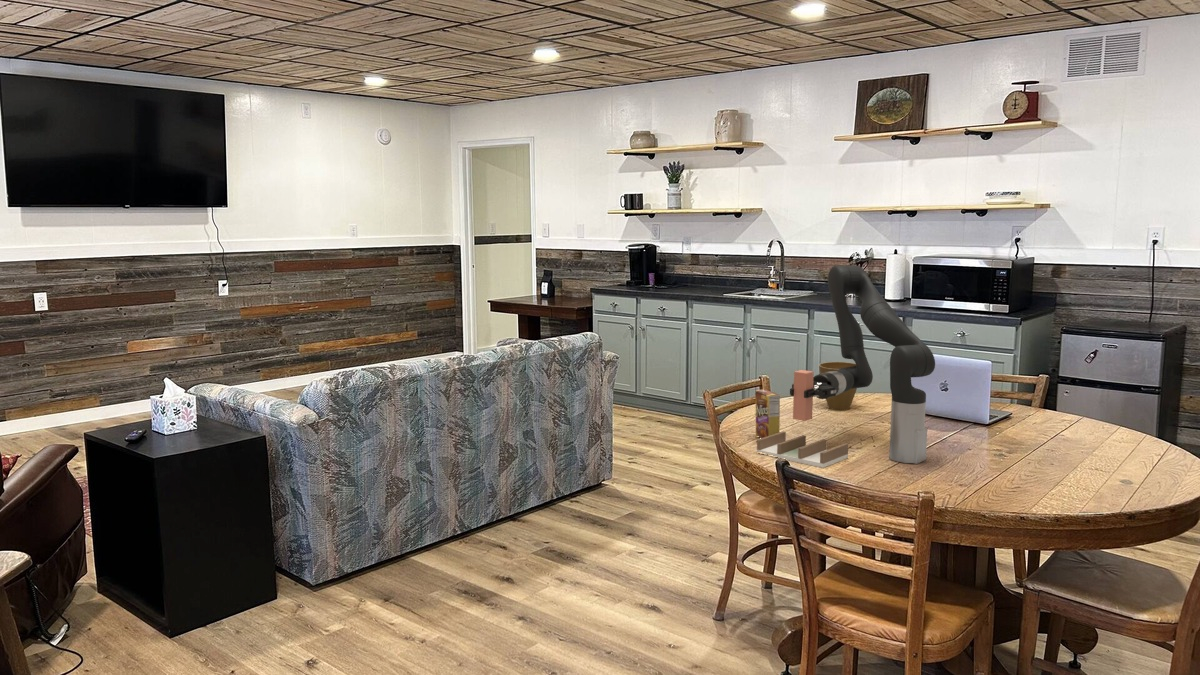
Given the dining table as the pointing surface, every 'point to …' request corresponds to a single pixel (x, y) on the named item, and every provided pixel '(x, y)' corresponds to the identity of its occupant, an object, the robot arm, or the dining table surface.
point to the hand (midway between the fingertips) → (798, 393)
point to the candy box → (767, 413)
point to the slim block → (802, 395)
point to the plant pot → (842, 399)
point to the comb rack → (802, 450)
